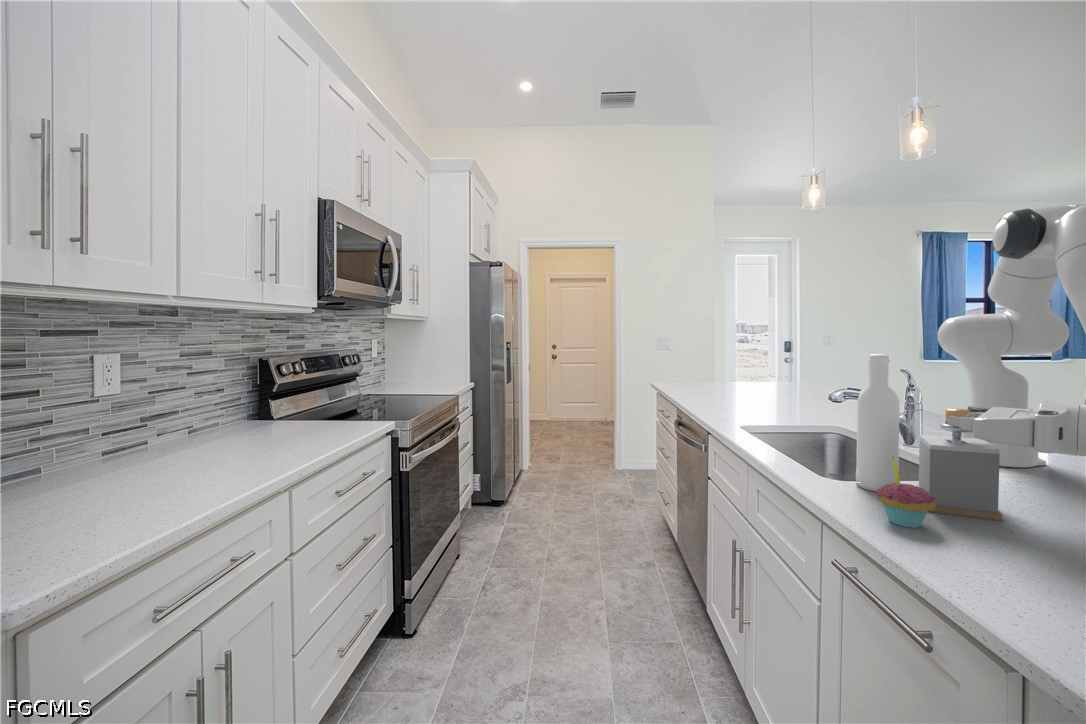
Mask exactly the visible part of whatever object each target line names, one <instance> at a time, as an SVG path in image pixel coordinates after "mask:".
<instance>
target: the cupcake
mask: <svg viewBox="0 0 1086 724" xmlns="http://www.w3.org/2000/svg"><path fill="white" fill-rule="evenodd" d="M892 457H893V456H892ZM892 463H893V468H894V474H895V480H896V483H894V484H893V483H892V484H887V485H884V486H883V487H882V486H881V489H878V491H876V497H877V500H878V501H880V503H881V504H882V506H883V507H884V508H883V509H885V513H886V516H887V520H888V522H890V523H891V522H892V524H893V523H894V524H893V525H896V524H897V526H899V525H900V527H903V526H904V528H911V529H914V528H921V527H922V525H923V523H924V519H925V518H926V516H927V514H928V513H929V511H933V510H934V509H935V507H936V503H935V500H934V497H933V495H931V494H930V492H929V493H928V492H927V491H926V490H924V489H923V488H919V485H913V484H910V483H901V480H900V479H901V478H900V473H899V472H898V466H897V461H895V460H894V457H893V461H892Z"/></svg>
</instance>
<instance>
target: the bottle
mask: <svg viewBox="0 0 1086 724" xmlns="http://www.w3.org/2000/svg"><path fill="white" fill-rule="evenodd" d="M867 363H868V385H867V386H866V387H864V388H863V389H862V390H861V391H860V393H859V395H858V397H857V401H856V466H855V467H856V471H855V480H856V481H855V484H856V485H857V486H858V487H859V488H862V489H864V490H867V491H872V492H878V489H881V486H882V487H883V486H884V485H887V484H892V483H893V484H894V483H896V480H895V474H894V468H893V463H892V461H893V457H894V460H895V461H897V466H898V472H899V469H900V468H899V467H900V465H899V463H900V462H899V461H900V457H899V456H900V410H901V409H900V405H901V403H900V399H899V397H898V394H897V392H896V391H895V390H894V389H893V388H891V387H890V386H889V363H890V358H889V355H888V354H883V353H877V354H876V353H875V354H873V353H870V354H869V355H868V360H867ZM892 456H893V457H892ZM856 482H861V483H856Z"/></svg>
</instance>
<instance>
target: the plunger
mask: <svg viewBox="0 0 1086 724" xmlns="http://www.w3.org/2000/svg"><path fill="white" fill-rule="evenodd" d="M944 415H945V418H944V419H945V420H944V422H940V423H939V429H940V430H941V431H946V432H952V434H951V437H952V443H960V444H961V443H962V432H967V433H968V432H973V430H971V429H966V428H962V427H957V426H949V425H948V424H947V418H948V417H949V416H961V417H967V418H970V410H967V409H966V408H955V407H953V408H945V414H944Z"/></svg>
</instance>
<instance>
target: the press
mask: <svg viewBox="0 0 1086 724" xmlns="http://www.w3.org/2000/svg"><path fill="white" fill-rule="evenodd" d="M918 448H919V452H918V454H919V455H918V456H919V457H918V459H919V460H918V461H919V462H918V487H919V488H923V489H924V490H926V491H927V492H928V493H929V492H930V494H931V495H933V497H934V500H935V503H936V507H935V509H934V510H933V511H928V513H929V512H930V513H936V514H937V513H938V514H944V515H945V514H947V515H955V516H961V517H969V516H970V517H971V518H976V519H977V518H978V519H985V518H986V519H987V520H992V519H995V520H994V521H1000V520H1001V521H1003V519H1004V515H1003V513H1002V512H1001V511H1000V510H999V494H1000V493H999V491H1000V487H999V486H1000V466H999V460H1000V450H999V449H998V448H996V447H994V446H993V445H991V444H990V443H988V442H986V441H985V440H981V439H974V438H962V443H961V444H960V443H952V436H939V435H925V434H923V435H922V434H919V447H918ZM986 519H985V520H986Z"/></svg>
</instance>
